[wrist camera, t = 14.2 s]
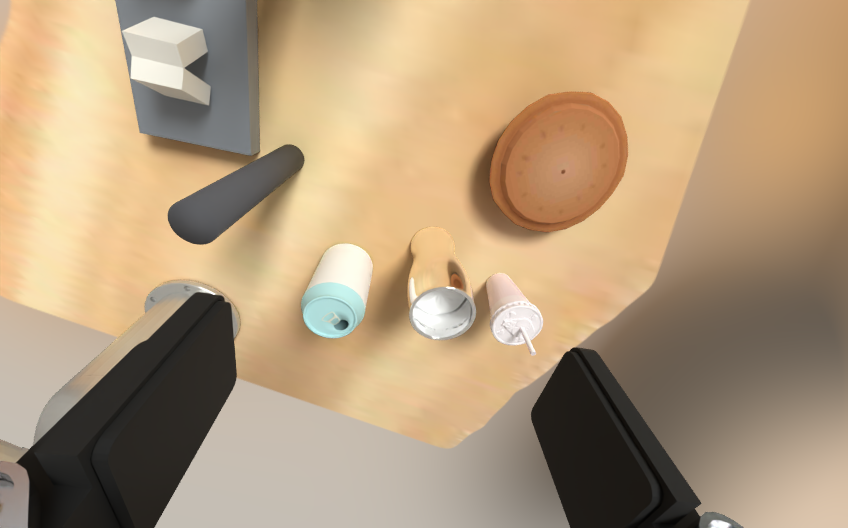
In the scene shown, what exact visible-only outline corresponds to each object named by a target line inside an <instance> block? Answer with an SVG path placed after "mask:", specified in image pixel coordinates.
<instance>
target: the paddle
mask: <svg viewBox="0 0 848 528" xmlns="http://www.w3.org/2000/svg"><path fill="white" fill-rule="evenodd" d="M131 79H133V80H135V81H137V82H139V83H141V84H143V85H145V86H147V87H149V88H151V89H153V90H155V91H157V92H159V93H161V94H163V95H165V96H169V97H173V98H178V99H182V100H186V101H191V102H195V103H200V104H204V105H209V101H210V90H211V86H209V85H208V84H206V83H205V82H203V81H202V80H201V79H199V78H198V77H196V76H195V75H193V74H192V73H190V72H189V71H188V70H186V69H185V68H181V67H177V66H173V65H169V64H164V63H160V62H156V61H152V60H147V59H143V58H139V57H135V56H132V60H131Z"/></svg>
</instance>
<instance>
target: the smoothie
mask: <svg viewBox="0 0 848 528" xmlns="http://www.w3.org/2000/svg"><path fill="white" fill-rule="evenodd" d="M486 288H487V294H488V301H489V307H490V314H491V320H490V328H491V331H492V333H493V335H494V337H495V338H496V339H497V340H498V341H499V342H501V343H503V344H506V345H520V344H524V343H526V344H527V347H528V349H529V351H530V353H531V355H535V354H536V352H535V350H534V348H533V346H532V344H531V341H530V340H532V339H533V338H535V337H536V336H537V335H538V334H539V332H540V331H541V329H542V326H543V318H542V316H541V314H540V311H539V310H538V308H537V307H536V306H535V305H533V304H531V303H530V302H529V301H528V300H527V298H526V297H525V296H524V295H523V293H522V292H521V291H520V290H519V288H518V287H517V286H516V285H515V283H514V282H513V281H512V280H511V278H510V277H509V276H508V275H506V274H504V273H496V274H494V275H492V276H490V277H489V279H488V280H487V282H486Z"/></svg>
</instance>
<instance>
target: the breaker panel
mask: <svg viewBox="0 0 848 528" xmlns="http://www.w3.org/2000/svg"><path fill="white" fill-rule="evenodd" d="M115 1H116V6H117V12H118V17H119V23H120V28H121V33H122V31H123V30H125V29H127V28H130V27H132V26H134V25H136V24H139V23H141V22H143V21H145V20H148V19H150V18H152V17H157V18H161V19H165V20H169V21H173V22H177V23H180V24H184V25H188V26H192V27H196V28H200V29H203V33H204V37H205V41H206V46H207V50H208V52H206V53H205V54H204V55H202V56H201V57H199V58H198V59H196V60H195V61H194V62H192V63H191V64H189V65H188V66H186V67H185V69H186V70H188V71H189V72H190V73H192V74H193V75H195V76H196V77H198V78H199V79H201V80H202V81H203V82H205V83H206V84H208V85H209V86H211V90H210V101H209V105H204V104H200V103H195V102H191V101H186V100H182V99H178V98H173V97H169V96H165V95H163V94H161V93H159V92H157V91H155V90H153V89H151V88H149V87H147V86H145V85H143V84H141V83H139V82H137V81H135V80H133V79H131V60H132V55H131V53H130V50H129V48H128V45H127V43H126V40H125V38H124V35H123V33H122V39H123V44H124V49H125V55H126V60H127V66H128V71H129V76H130V82H131V87H132V93H133V98H134V103H135V109H136V114H137V120H138V125H139V130H140V133H144V134H148V135H153V136H158V137H163V138H168V139H173V140H177V141H182V142H187V143H192V144H197V145H201V146H206V147H211V148H216V149H221V150H226V151H230V152H235V153H240V154H245V155H250V156H251V155H253V154H256V153H258V152H260V129H259V75H258V22H257V0H115Z"/></svg>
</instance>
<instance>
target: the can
mask: <svg viewBox="0 0 848 528" xmlns="http://www.w3.org/2000/svg"><path fill="white" fill-rule="evenodd" d="M372 271H373V264H372V261H371V258H370V257H369V255H368V254H367V253H366V252H365V251H364V250H363V249H361V248H360V247H358V246H355V245H352V244H337V245H334V246H332V247H330V248H329V249H328V250H327V251H326V252H325V253H324V254H323V256H322V258H321V260H320V263H319V265H318V267H317V269H316V271H315V273H314V275H313V277H312V279H311V281H310V283H309V285H308V287H307V289H306V291H305V294H304V296H303V298H302V301H301V309H302V313H303V319H304V322H305V324H306V326H307V327H308V328H309V329H310V330H311V331H312V332H314V333H315V334H317V335H319V336H322V337H326V338H340V337H343V336H346V335H348V334H349V333H351V332H352V331H353V330H354V328H355V327H357V326H358V325H359V324H360V322H361V321H362V320H363V317H364V314H365V309H366V303H367V298H368V293H369V287H370V282H371V276H372Z"/></svg>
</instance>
